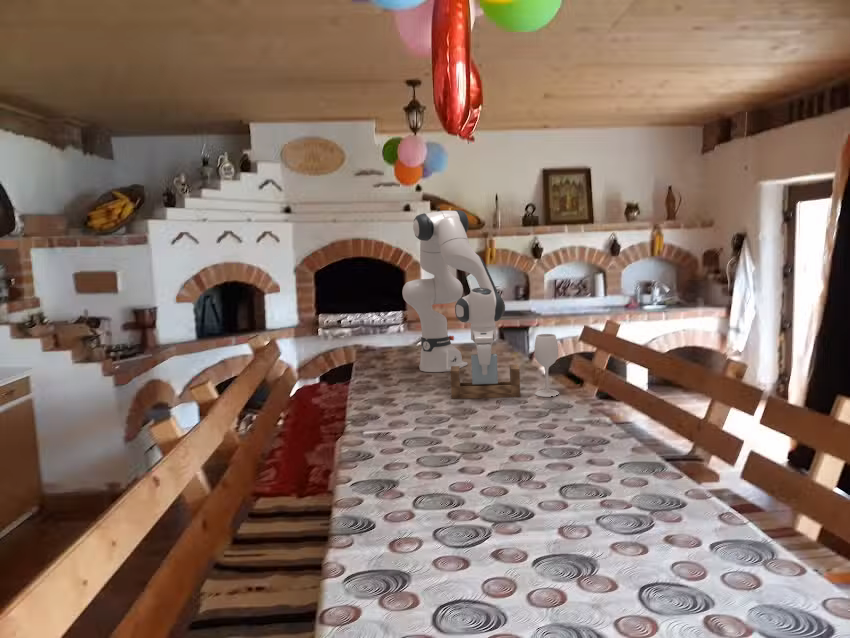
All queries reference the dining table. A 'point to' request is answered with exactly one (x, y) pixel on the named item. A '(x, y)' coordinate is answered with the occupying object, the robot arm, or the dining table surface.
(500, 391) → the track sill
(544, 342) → the wineglass
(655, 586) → the dining table surface
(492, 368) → the door panel
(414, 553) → the dining table surface
